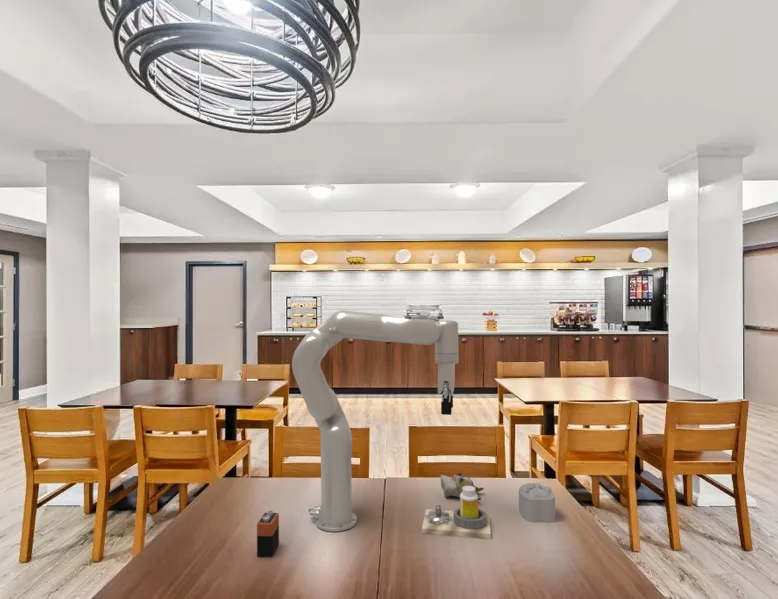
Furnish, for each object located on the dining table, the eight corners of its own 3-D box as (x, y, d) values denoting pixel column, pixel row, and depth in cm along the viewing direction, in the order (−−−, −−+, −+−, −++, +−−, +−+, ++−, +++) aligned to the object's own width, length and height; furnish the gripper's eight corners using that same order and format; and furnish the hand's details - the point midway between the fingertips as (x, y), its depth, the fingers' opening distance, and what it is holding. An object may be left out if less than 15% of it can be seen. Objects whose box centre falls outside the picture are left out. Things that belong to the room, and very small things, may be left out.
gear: (424, 524, 140) (424, 511, 140) (426, 512, 148) (426, 500, 148) (450, 526, 138) (450, 513, 138) (452, 514, 146) (452, 501, 146)
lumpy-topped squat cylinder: (525, 522, 144) (525, 494, 144) (514, 504, 157) (514, 478, 157) (558, 522, 144) (558, 494, 144) (545, 504, 157) (545, 478, 157)
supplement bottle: (481, 524, 140) (481, 490, 140) (465, 527, 138) (465, 492, 138) (472, 516, 145) (472, 483, 145) (456, 519, 143) (456, 485, 143)
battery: (256, 557, 125) (256, 520, 125) (264, 544, 132) (264, 508, 132) (272, 557, 125) (272, 520, 125) (279, 544, 132) (279, 509, 132)
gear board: (421, 533, 138) (421, 528, 138) (426, 513, 150) (426, 509, 150) (490, 539, 134) (490, 533, 134) (489, 518, 147) (489, 513, 147)
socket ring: (453, 528, 138) (453, 519, 138) (454, 513, 147) (454, 505, 147) (486, 530, 136) (486, 522, 136) (485, 515, 145) (485, 507, 145)
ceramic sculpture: (443, 465, 170) (484, 471, 166) (442, 488, 171) (483, 495, 166) (437, 475, 160) (481, 483, 156) (436, 500, 160) (480, 508, 156)
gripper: (437, 355, 160) (437, 404, 160) (432, 361, 143) (433, 416, 143) (459, 355, 159) (459, 405, 159) (457, 361, 142) (457, 417, 142)
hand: (447, 410), depth 151 cm, fingers open, 9 cm apart
